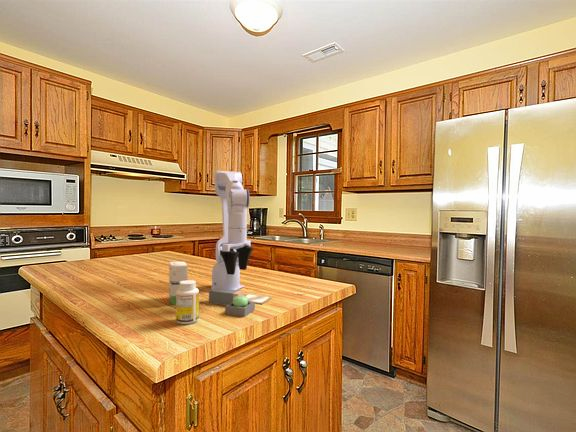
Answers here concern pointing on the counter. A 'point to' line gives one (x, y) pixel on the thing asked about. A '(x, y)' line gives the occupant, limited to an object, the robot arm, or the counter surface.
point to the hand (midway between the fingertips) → (237, 271)
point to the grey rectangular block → (223, 295)
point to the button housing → (240, 309)
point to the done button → (240, 301)
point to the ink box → (176, 278)
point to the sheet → (257, 299)
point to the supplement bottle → (187, 302)
